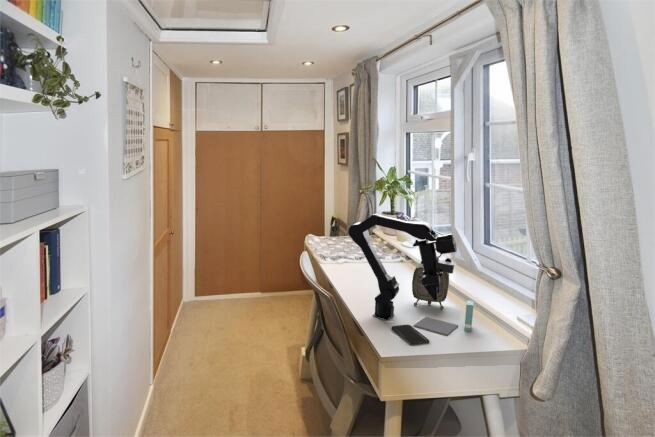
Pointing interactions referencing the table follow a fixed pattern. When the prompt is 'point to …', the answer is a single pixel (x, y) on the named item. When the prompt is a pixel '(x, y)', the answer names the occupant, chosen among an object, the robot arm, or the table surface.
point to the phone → (410, 335)
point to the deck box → (468, 315)
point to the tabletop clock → (421, 291)
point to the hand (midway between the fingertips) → (436, 296)
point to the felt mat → (436, 326)
